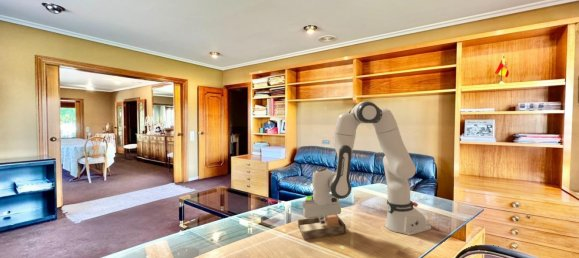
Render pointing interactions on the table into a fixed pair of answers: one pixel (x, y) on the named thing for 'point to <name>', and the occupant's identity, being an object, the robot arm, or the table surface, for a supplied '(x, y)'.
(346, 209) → the table surface
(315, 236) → the box
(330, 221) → the block
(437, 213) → the table surface
